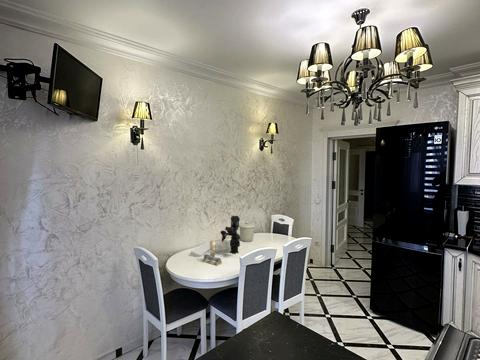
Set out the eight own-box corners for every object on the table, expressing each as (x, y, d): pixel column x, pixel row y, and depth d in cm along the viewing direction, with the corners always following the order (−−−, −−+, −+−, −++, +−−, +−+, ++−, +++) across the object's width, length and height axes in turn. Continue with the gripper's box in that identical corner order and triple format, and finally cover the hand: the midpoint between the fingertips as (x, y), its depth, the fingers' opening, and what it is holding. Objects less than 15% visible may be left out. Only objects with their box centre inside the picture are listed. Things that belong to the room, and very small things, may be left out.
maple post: (214, 255, 223) (214, 240, 222) (215, 257, 219) (215, 241, 219) (209, 256, 222) (209, 240, 221) (210, 257, 218) (210, 242, 217)
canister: (255, 238, 295) (255, 219, 294) (254, 243, 277) (255, 223, 276) (239, 237, 297) (239, 219, 296) (237, 242, 279) (238, 222, 278)
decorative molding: (215, 248, 266) (206, 245, 269) (216, 244, 265) (207, 240, 268) (199, 260, 233) (189, 256, 236) (200, 255, 233) (191, 251, 236)
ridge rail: (202, 261, 223) (202, 255, 223) (207, 259, 228) (207, 253, 228) (217, 265, 214) (217, 259, 214) (221, 263, 219) (221, 257, 219)
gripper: (221, 221, 240) (213, 236, 232) (238, 224, 230) (230, 239, 221) (226, 228, 247) (219, 242, 239) (243, 231, 236) (235, 246, 228)
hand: (225, 242), depth 231 cm, fingers open, 9 cm apart
